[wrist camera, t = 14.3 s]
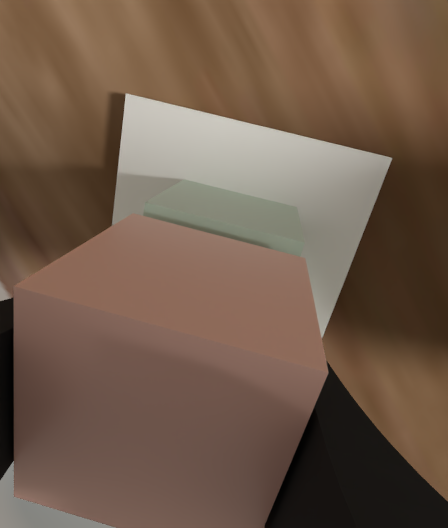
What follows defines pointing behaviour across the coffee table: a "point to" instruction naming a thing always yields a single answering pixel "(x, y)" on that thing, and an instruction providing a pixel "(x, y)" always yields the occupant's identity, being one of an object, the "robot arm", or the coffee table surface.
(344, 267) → the base plate
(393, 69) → the coffee table surface
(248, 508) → the brick top
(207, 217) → the brick bottom
